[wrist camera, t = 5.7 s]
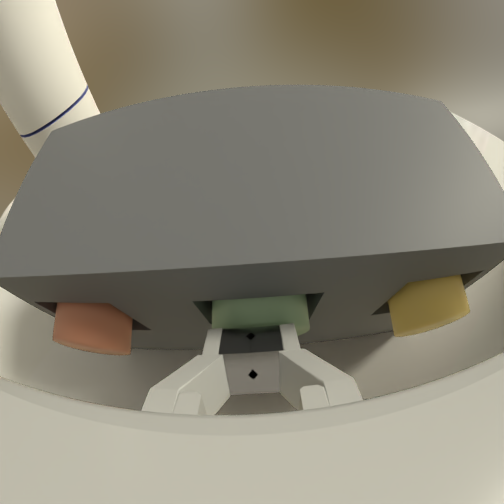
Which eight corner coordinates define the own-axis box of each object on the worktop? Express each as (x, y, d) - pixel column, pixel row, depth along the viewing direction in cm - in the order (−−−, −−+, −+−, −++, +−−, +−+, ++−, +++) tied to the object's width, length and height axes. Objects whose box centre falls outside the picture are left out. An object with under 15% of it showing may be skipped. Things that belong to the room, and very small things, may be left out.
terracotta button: (146, 298, 14) (112, 266, 11) (143, 357, 13) (103, 342, 9) (88, 299, 14) (47, 270, 11) (83, 351, 13) (36, 334, 9)
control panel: (377, 231, 23) (441, 101, 11) (401, 328, 19) (526, 240, 7) (134, 248, 24) (51, 131, 12) (124, 347, 20) (-13, 277, 7)
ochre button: (429, 275, 14) (465, 241, 10) (442, 327, 12) (485, 304, 9) (370, 282, 14) (400, 246, 10) (381, 341, 12) (419, 321, 9)
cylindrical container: (97, 234, 25) (-39, 19, 3) (71, 204, 27) (-35, 30, 5) (146, 187, 27) (57, -40, 5) (114, 164, 30) (36, -17, 8)
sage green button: (296, 277, 14) (305, 237, 11) (303, 338, 13) (317, 317, 9) (219, 282, 15) (203, 244, 11) (220, 343, 13) (202, 325, 9)
